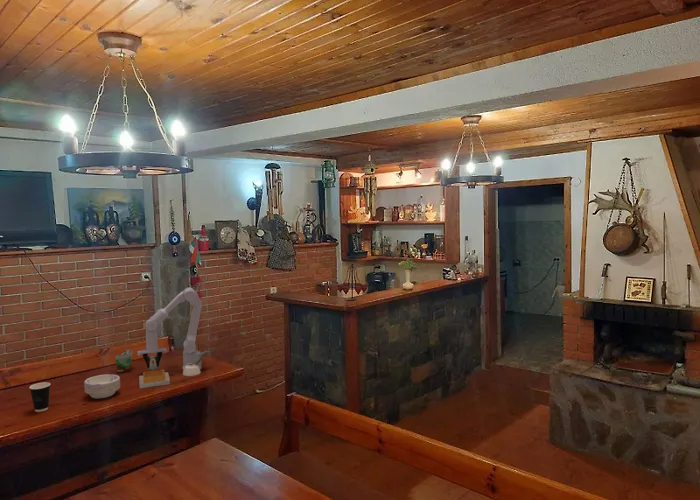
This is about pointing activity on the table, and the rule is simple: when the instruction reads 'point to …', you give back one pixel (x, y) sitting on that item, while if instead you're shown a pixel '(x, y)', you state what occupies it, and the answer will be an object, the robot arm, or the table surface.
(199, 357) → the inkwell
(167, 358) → the table surface
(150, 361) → the spout can
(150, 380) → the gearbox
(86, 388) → the paper bowls
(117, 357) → the food container
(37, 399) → the dixie cup
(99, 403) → the table surface
